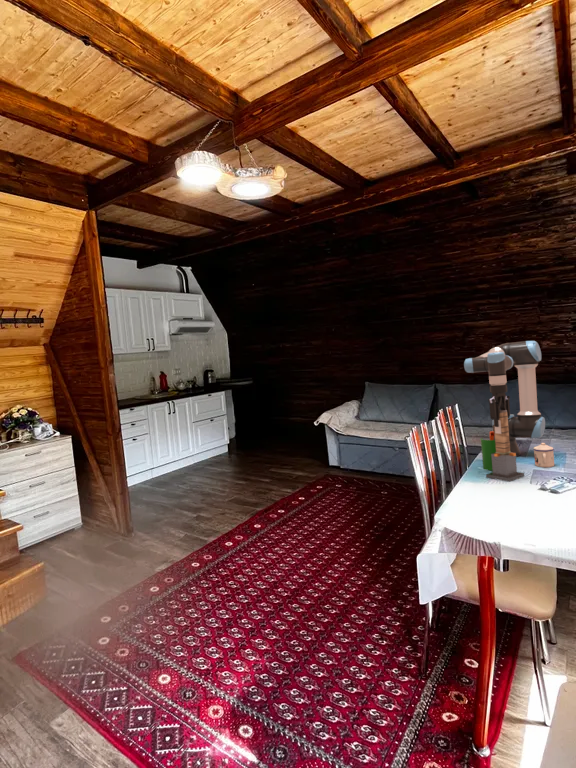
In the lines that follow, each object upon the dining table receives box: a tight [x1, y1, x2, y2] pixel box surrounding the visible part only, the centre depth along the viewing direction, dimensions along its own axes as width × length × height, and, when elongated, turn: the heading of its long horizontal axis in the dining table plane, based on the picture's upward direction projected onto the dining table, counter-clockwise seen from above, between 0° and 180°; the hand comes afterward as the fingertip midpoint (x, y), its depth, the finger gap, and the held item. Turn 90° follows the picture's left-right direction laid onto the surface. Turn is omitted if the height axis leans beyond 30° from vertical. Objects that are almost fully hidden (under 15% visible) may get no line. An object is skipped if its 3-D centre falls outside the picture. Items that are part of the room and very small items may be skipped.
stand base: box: [485, 452, 525, 483], centre depth 211 cm, size 12×12×12 cm
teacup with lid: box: [533, 442, 555, 468], centre depth 223 cm, size 12×9×12 cm
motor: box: [480, 430, 496, 472], centre depth 226 cm, size 10×9×20 cm
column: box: [494, 410, 511, 455], centre depth 210 cm, size 5×5×23 cm
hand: (501, 432), depth 210 cm, fingers closed on column, 5 cm apart
